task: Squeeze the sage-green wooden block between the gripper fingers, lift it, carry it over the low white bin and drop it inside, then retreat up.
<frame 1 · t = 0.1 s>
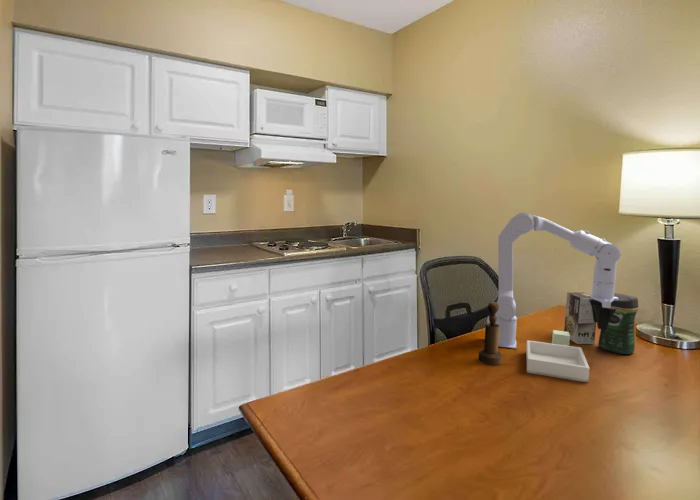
hand: (599, 325, 127), 10 cm above the table, fingers open, 7 cm apart
green block: (559, 351, 133), on the table
wooden pepper mill: (490, 361, 123), on the table
white bin: (554, 366, 120), on the table
coffee box: (578, 340, 144), on the table
coffee jar: (615, 350, 135), on the table
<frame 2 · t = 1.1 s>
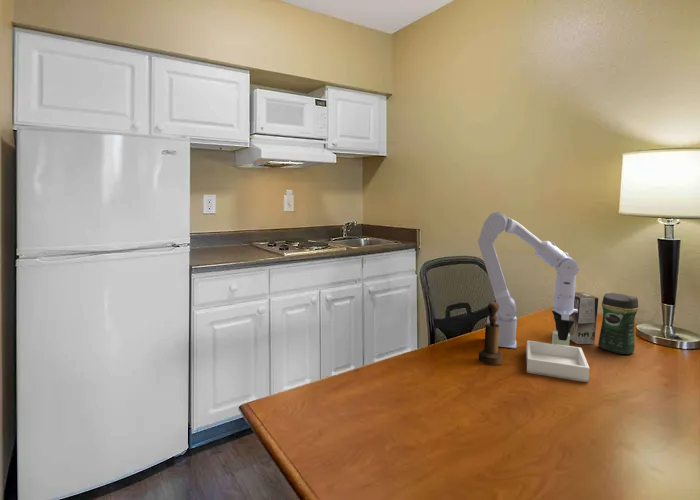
hand: (561, 336, 132), 5 cm above the table, fingers open, 7 cm apart
nothing on the table moved.
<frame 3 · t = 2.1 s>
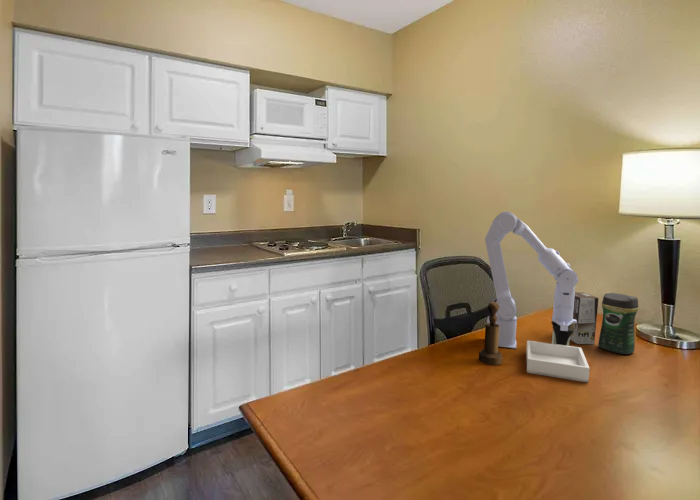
hand: (560, 346, 133), 1 cm above the table, fingers closed on green block, 4 cm apart
green block: (559, 350, 133), on the table, touching gripper
everything else where it was.
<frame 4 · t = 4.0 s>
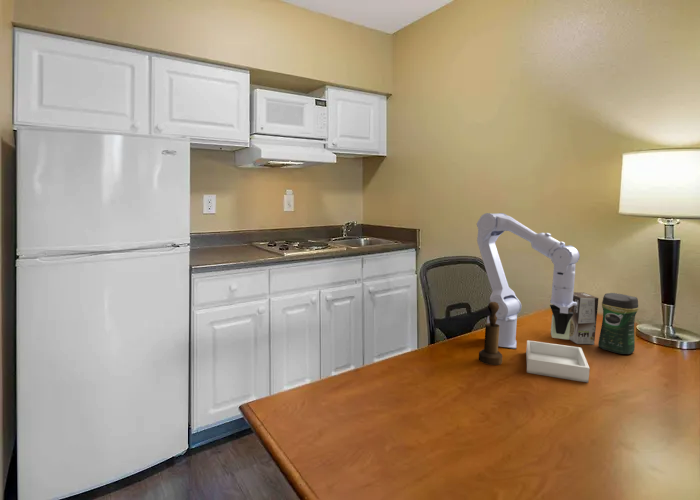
hand: (559, 331, 124), 9 cm above the table, fingers closed on green block, 4 cm apart
green block: (559, 336, 124), point 7 cm above the table, touching gripper
everything else where it was.
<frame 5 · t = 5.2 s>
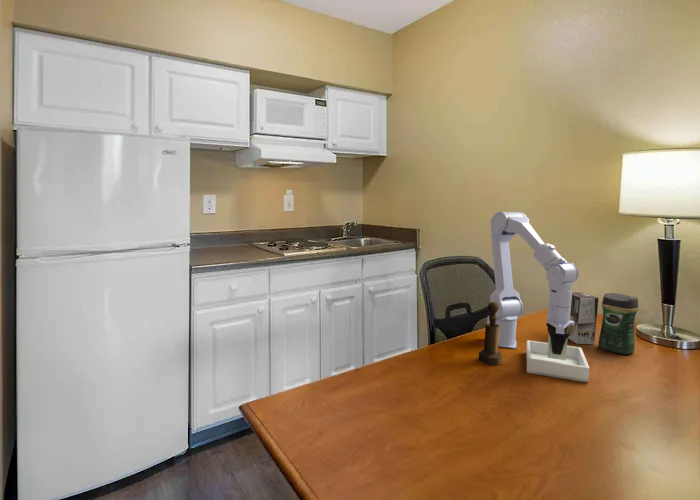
hand: (555, 351, 119), 5 cm above the table, fingers closed on green block, 4 cm apart
green block: (556, 356, 119), point 3 cm above the table, touching gripper
everything else where it was.
when the fingers open (4 cm above the table, at t = 5.9 s): green block drops 1 cm, resting on white bin.
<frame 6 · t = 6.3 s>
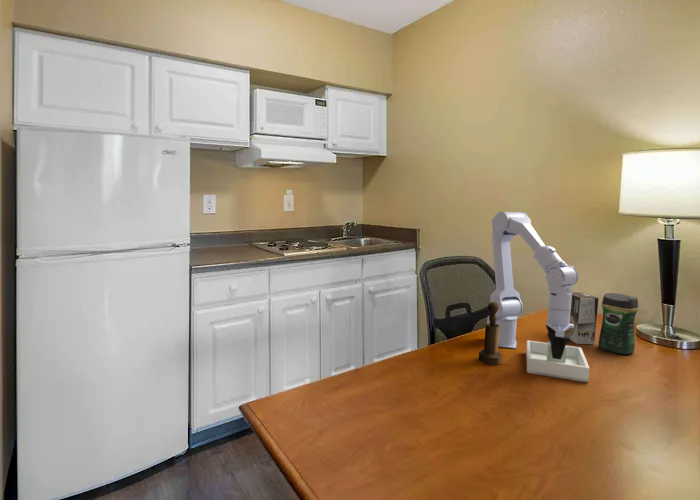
hand: (555, 353, 119), 4 cm above the table, fingers open, 7 cm apart
green block: (555, 364, 120), point 1 cm above the table, touching white bin
everything else where it was.
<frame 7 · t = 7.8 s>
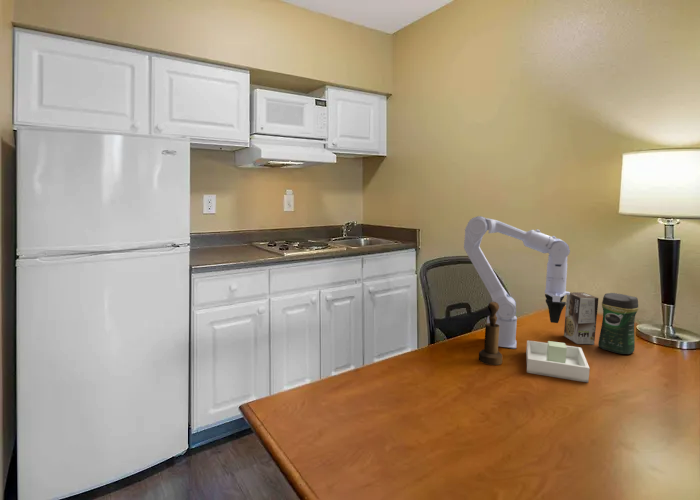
hand: (553, 319, 132), 10 cm above the table, fingers open, 7 cm apart
nothing on the table moved.
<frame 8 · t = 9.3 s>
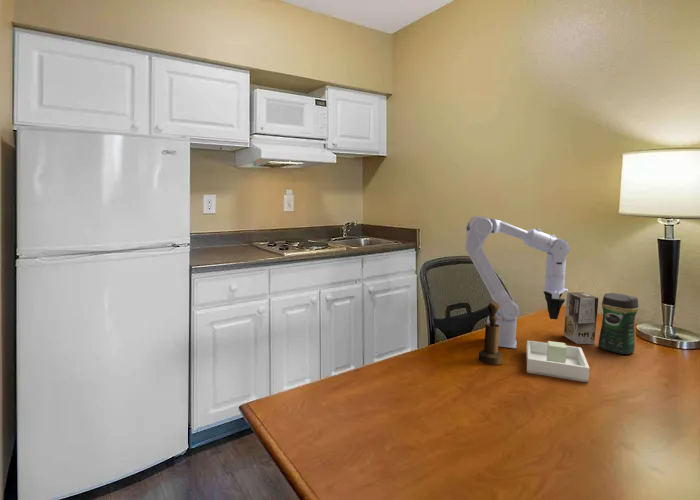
hand: (552, 315, 135), 10 cm above the table, fingers open, 7 cm apart
nothing on the table moved.
at the end: green block inside the target area on the white bin (0.2 cm from its centre), point 0.6 cm above the white bin's base; the gripper is holding nothing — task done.
